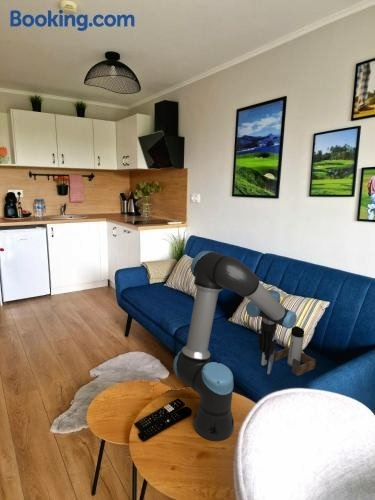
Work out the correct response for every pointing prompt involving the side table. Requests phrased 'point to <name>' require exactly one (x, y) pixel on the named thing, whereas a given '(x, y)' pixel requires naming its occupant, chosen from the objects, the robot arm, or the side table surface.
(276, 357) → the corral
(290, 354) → the travel mug
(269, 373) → the grey rectangular panel
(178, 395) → the side table surface
